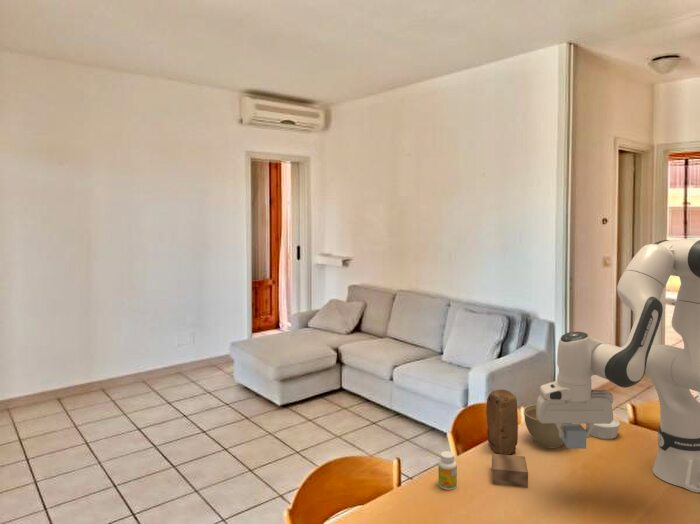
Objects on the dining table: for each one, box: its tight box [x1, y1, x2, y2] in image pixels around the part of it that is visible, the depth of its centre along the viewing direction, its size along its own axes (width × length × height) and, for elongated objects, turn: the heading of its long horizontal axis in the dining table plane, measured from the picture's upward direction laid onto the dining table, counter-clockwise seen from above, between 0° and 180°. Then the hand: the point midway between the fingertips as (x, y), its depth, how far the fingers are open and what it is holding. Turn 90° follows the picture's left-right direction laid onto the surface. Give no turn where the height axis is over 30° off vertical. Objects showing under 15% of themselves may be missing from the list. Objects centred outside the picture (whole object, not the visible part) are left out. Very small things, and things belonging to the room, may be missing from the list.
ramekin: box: [585, 417, 621, 440], centre depth 185 cm, size 11×11×5 cm
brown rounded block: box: [485, 389, 519, 455], centre depth 175 cm, size 11×8×20 cm
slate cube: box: [562, 424, 587, 450], centre depth 146 cm, size 5×5×5 cm
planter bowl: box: [523, 403, 572, 449], centre depth 179 cm, size 16×16×11 cm
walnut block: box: [491, 453, 529, 489], centre depth 157 cm, size 10×10×5 cm
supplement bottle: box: [437, 450, 458, 491], centre depth 153 cm, size 5×5×10 cm
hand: (573, 437), depth 146 cm, fingers closed on slate cube, 5 cm apart
